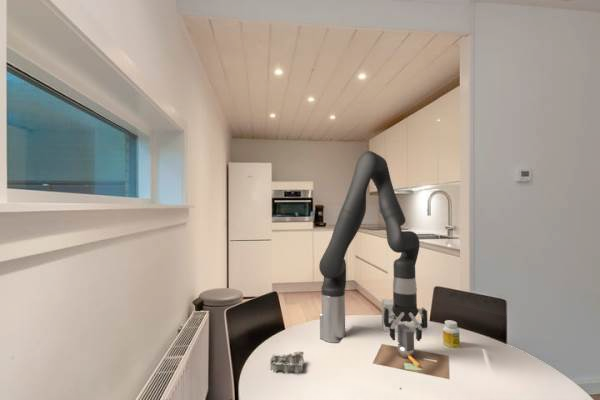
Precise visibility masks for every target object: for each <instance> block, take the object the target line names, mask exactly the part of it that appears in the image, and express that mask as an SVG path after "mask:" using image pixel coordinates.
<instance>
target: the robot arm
mask: <svg viewBox="0 0 600 400" xmlns="http://www.w3.org/2000/svg"><path fill="white" fill-rule="evenodd" d="M371 180H372V183H373V184H374V186H375V188H376V191H377V194H378V207H379V211H380V213H381V216H382V218H383V221H384V223H385V232H386V233H385V234H386V241H387V244H388V246H389V248H390V249H391V250H392V252H395V253H399V254H400V257H398V258H397V259H395V260H394V261H393V281H392V293H393V294H392V300H393V307H392V308H387V307H384V324H385V326H386V327H389V328H390V332H389V337H390V338H391V340H392V341H395V340H396V332H395V329H394V328H395V326H396V325H397V324H398V323H399V321H401V322H402V323H403V322H408V323H411V322H413V324H414V325H415V326H416V327H415V339H416V341H418V342H420V341H421V340H422V337H423V336H422V335H423V334H422V330H423V329H428V310H427V309H426V308H425V307H421V308H418V307H417V306H418V305H417V303H418V300H417V297H418V296H417V295H418V294H417V291H418V290H417V289H418V288H417V281H416V280H417V279H416V264H417V260H418V256H419V252H420V239H419V236H418V235H417V234H416V233H415V232H414V231H410V230H409V231H407V230H405V231H402V227H401V226H403V225H404V224H405V223H406V217H405V214H404V211H403V210H402V207H401V204H400V203H399V201H398V197H397V195H396V192H395V189H394V187H393V181H392V178H391V176H390V171H389V166H388V162H387V161H386V159H385V158H384V157H383V156H381V155H379V154H377V152H374V151H370V150H369V151H364V152H362V154H361V155H360V156H359V157H358V159H357V162H356V165H355V168H354V171H353V175H352V180H351V182H350V185H349V188H348V190H347V194H346V197H345V199H344V201H343V204H342V207H341V209H340V211H339V214H338V217H337V220H336V222H335V225H334V228H333V232H332V236H331V238H330V241H329V243H328V245H327V247H326V249H325V251H324V253H323V254H322V257H321V259H320V261H319V266H318V267H319V272H320V273H321V275H322V276H323V282H322V285H321V312H320V314H319V339H320V340H323V341H325V342H328V343H341V342H342V340H343V339H344V338H345V337H346V297H345V296H346V286H347V262H346V259H345V257H346V254H347V251H348V248H349V247H350V245H351V243H352V242H353V240H354V238H355V237H356V234H357V233H358V232H359V229H360V227H361V226H362V224H363V220H364V218H365V215H366V211H367V192H368V191H367V190H368V187H369V184H370V183H371ZM391 312H393V313H394V314H395V315H394V317H393V318H392V321H391V322H390V323H389V315H390V314H391ZM418 314H419V315H420V317H421V323H420V322H419V321H418V319H417V318H416V316H417V315H418Z"/></svg>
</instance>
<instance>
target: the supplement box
mask: <svg viewBox="0 0 600 400" xmlns="http://www.w3.org/2000/svg"><path fill="white" fill-rule="evenodd" d="M384 307H387V308H392V307H393V299H388V298H387V299H386V298H381V330H382V331H384V332H389V333H390V328H389V327H386V326H385V324H384ZM394 315H395V314H394V313H393V312H391V314H390V315H389V323H390V322H391V321H392V318H393V317H394ZM398 324H403V322H401V321H399V323H398ZM394 329H395V333H398V327H397V325H396V326H395V328H394Z"/></svg>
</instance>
